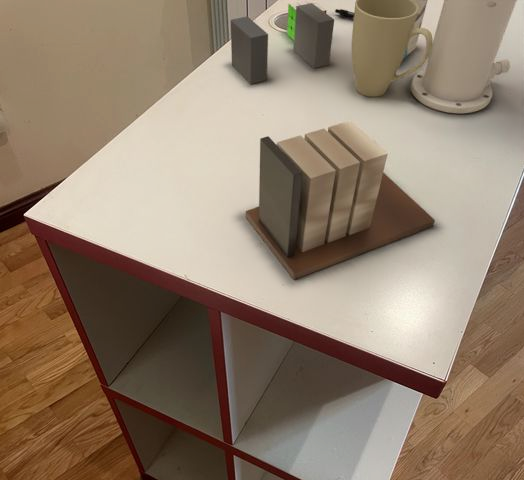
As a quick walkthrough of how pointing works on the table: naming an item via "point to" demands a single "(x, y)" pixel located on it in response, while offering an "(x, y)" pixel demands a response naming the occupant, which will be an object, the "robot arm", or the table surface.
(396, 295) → the table surface
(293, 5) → the green boxy piece
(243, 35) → the grey bookends
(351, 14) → the pen
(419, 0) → the ink box
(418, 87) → the robot arm
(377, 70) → the mug
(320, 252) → the bookend with books
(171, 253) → the table surface
